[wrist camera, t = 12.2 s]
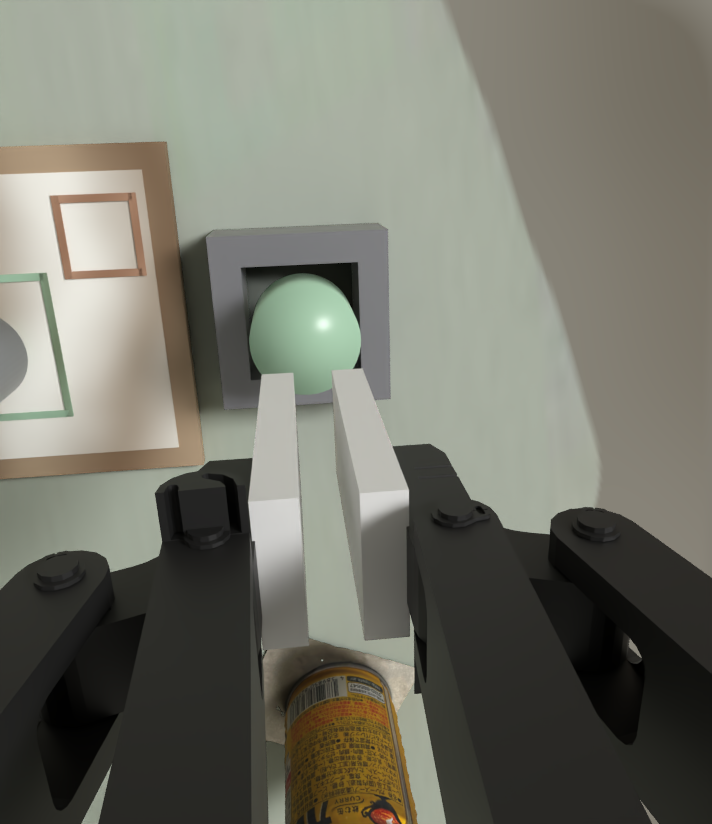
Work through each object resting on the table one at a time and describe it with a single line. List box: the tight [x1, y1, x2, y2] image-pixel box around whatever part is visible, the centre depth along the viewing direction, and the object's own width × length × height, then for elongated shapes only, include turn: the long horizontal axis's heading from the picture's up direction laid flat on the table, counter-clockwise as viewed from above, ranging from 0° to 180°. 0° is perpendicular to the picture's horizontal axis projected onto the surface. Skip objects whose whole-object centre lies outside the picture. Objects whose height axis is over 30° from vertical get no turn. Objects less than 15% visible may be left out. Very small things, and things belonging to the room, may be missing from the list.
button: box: [249, 273, 361, 395], centre depth 26 cm, size 4×4×3 cm
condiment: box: [263, 639, 418, 824], centre depth 32 cm, size 7×8×12 cm
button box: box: [206, 223, 391, 410], centre depth 29 cm, size 7×7×3 cm
